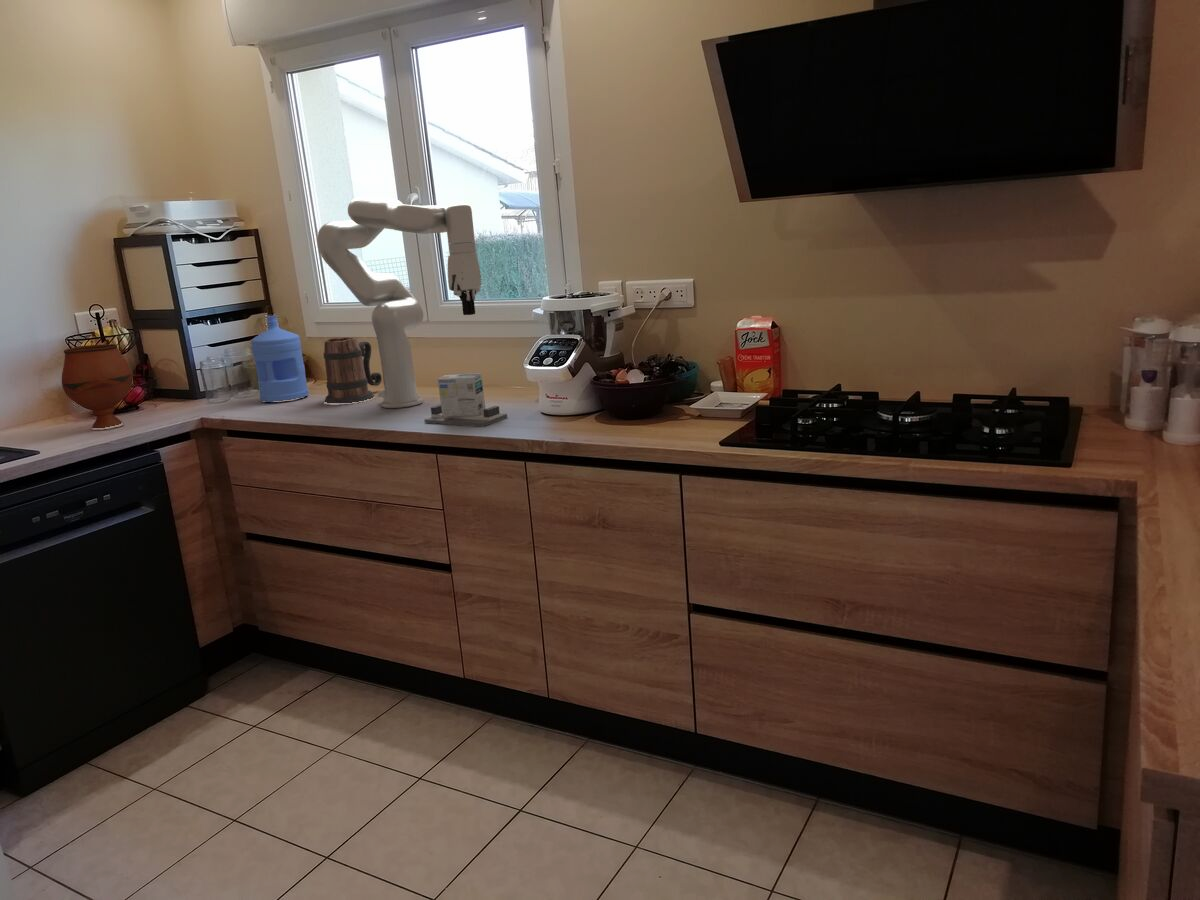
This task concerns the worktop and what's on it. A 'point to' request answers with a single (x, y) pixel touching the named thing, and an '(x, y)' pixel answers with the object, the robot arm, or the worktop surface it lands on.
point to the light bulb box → (461, 395)
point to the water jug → (279, 364)
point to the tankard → (348, 370)
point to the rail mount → (466, 417)
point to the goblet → (97, 380)
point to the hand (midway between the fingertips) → (469, 314)
